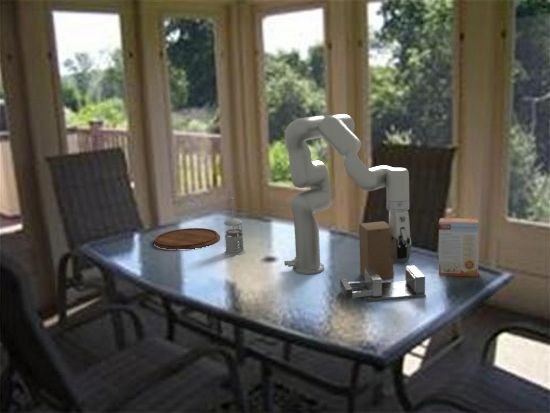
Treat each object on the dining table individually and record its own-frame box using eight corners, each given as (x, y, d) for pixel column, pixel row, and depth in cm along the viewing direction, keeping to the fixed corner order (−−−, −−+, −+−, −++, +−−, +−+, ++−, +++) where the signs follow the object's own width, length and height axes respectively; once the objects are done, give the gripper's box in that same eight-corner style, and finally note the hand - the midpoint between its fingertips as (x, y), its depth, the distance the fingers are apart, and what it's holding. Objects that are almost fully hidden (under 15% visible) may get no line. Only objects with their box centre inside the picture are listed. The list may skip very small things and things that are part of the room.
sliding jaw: (346, 298, 206) (346, 281, 205) (340, 286, 218) (339, 270, 216) (381, 295, 207) (381, 279, 205) (373, 283, 218) (373, 267, 217)
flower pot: (411, 266, 239) (411, 244, 237) (388, 265, 241) (388, 243, 239) (411, 258, 248) (410, 237, 246) (388, 258, 249) (388, 237, 247)
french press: (220, 255, 266) (215, 199, 261) (231, 247, 277) (227, 193, 271) (240, 256, 263) (236, 200, 257) (251, 248, 273) (248, 194, 267)
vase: (392, 263, 207) (391, 238, 205) (386, 257, 214) (386, 233, 212) (411, 261, 207) (411, 236, 206) (405, 255, 214) (405, 231, 212)
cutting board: (185, 229, 313) (185, 224, 313) (234, 236, 295) (233, 231, 294) (138, 246, 288) (138, 241, 288) (188, 255, 270) (187, 249, 269)
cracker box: (478, 272, 228) (479, 218, 224) (477, 277, 223) (479, 222, 218) (439, 269, 233) (439, 217, 228) (438, 275, 228) (438, 221, 223)
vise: (368, 302, 206) (367, 282, 204) (359, 287, 219) (358, 268, 218) (425, 297, 207) (426, 277, 206) (413, 283, 221) (413, 264, 219)
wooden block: (394, 279, 226) (393, 227, 221) (368, 282, 224) (367, 230, 220) (384, 270, 235) (384, 220, 231) (359, 273, 234) (358, 223, 229)
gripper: (416, 209, 198) (417, 261, 202) (401, 198, 215) (402, 247, 219) (394, 211, 198) (395, 263, 202) (380, 200, 214) (381, 248, 218)
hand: (398, 254), depth 210 cm, fingers closed on vase, 6 cm apart
